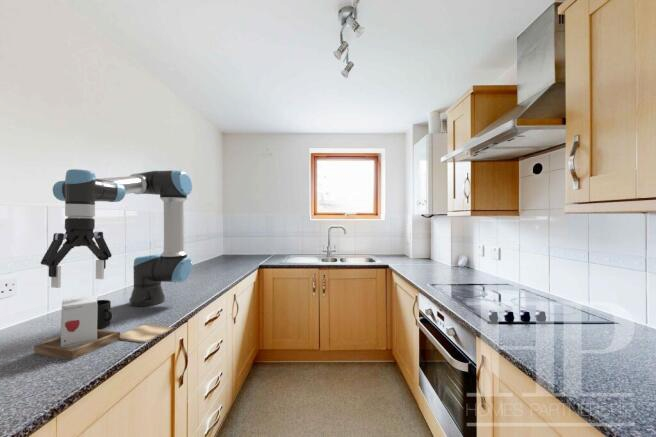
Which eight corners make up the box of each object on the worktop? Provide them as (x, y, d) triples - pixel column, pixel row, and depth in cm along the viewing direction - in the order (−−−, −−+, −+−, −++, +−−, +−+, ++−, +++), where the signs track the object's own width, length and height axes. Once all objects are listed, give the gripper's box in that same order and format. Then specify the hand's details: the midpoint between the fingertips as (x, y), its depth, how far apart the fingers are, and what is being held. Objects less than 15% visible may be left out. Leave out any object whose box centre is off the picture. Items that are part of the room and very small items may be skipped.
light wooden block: (145, 325, 117) (145, 324, 117) (173, 329, 113) (173, 327, 113) (114, 338, 104) (114, 337, 104) (145, 343, 101) (145, 341, 101)
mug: (100, 332, 110) (100, 307, 110) (72, 330, 112) (72, 305, 112) (122, 323, 119) (122, 300, 119) (96, 321, 121) (96, 299, 121)
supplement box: (60, 355, 92) (60, 306, 92) (61, 345, 99) (61, 299, 99) (97, 347, 97) (97, 301, 97) (96, 338, 104) (96, 295, 104)
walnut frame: (85, 334, 107) (85, 327, 107) (120, 339, 104) (120, 332, 104) (34, 353, 92) (34, 345, 92) (72, 359, 89) (72, 351, 89)
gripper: (107, 217, 111) (106, 275, 111) (25, 217, 87) (24, 290, 87) (123, 218, 109) (123, 276, 109) (44, 217, 85) (43, 292, 85)
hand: (79, 283), depth 98 cm, fingers open, 13 cm apart
